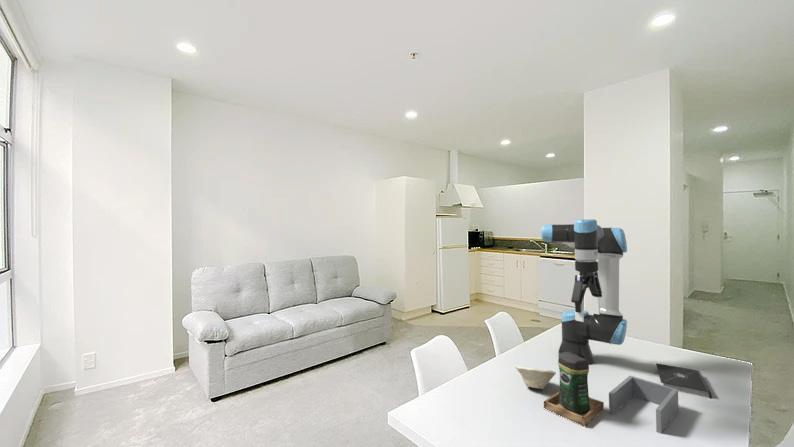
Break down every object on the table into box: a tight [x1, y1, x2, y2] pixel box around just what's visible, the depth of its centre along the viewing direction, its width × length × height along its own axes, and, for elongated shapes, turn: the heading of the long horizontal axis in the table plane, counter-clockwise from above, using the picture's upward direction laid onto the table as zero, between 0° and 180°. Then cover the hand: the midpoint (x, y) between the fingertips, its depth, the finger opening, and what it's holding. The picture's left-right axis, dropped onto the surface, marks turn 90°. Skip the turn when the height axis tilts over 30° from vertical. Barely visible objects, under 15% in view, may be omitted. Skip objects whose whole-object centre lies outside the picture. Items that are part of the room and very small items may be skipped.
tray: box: [543, 391, 605, 427], centre depth 117 cm, size 14×16×3 cm
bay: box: [608, 375, 679, 434], centre depth 115 cm, size 14×21×7 cm
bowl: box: [515, 365, 557, 390], centre depth 133 cm, size 15×14×10 cm
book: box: [656, 363, 713, 399], centre depth 136 cm, size 22×15×3 cm
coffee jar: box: [557, 352, 590, 414], centre depth 117 cm, size 10×8×19 cm
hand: (587, 317), depth 123 cm, fingers open, 13 cm apart
